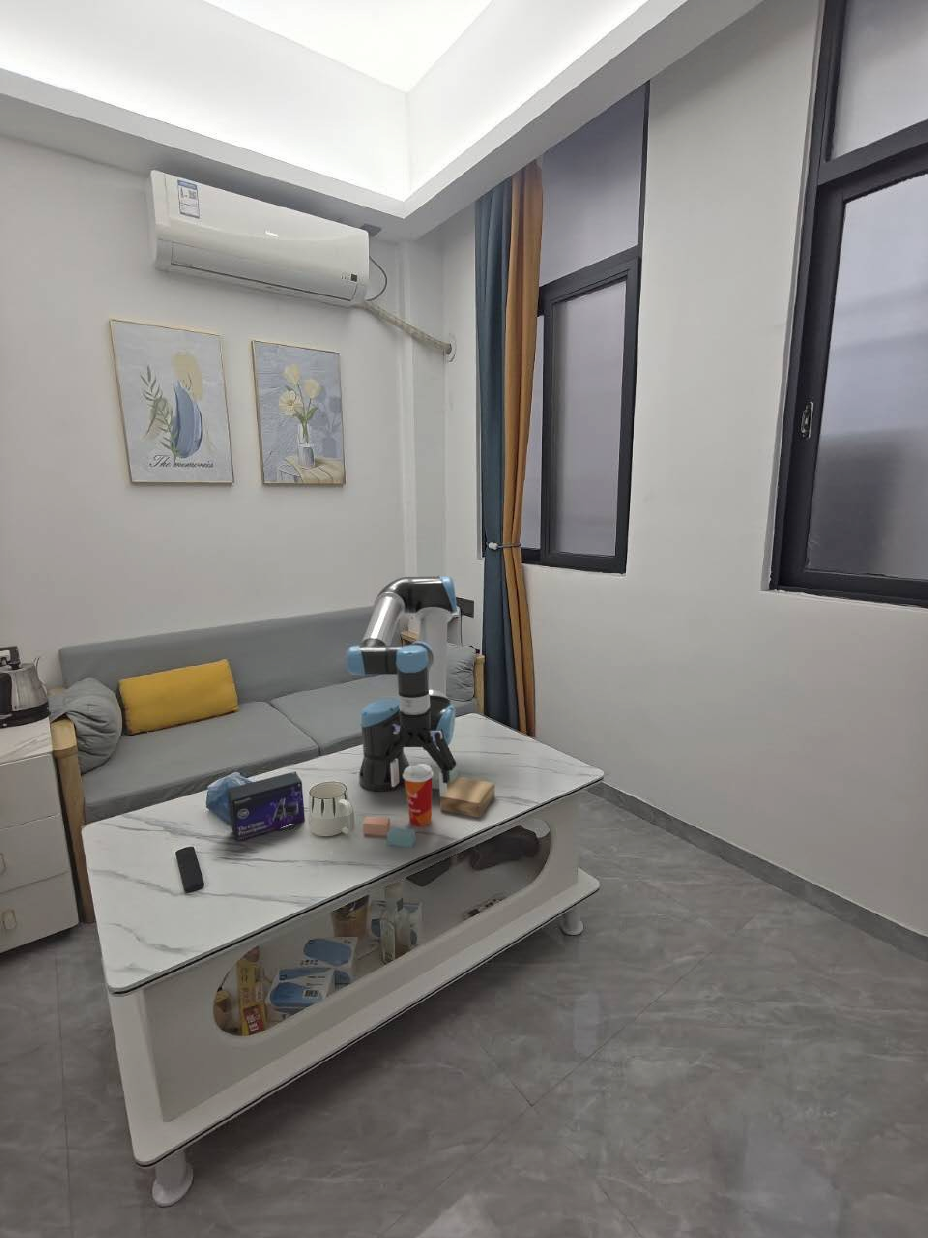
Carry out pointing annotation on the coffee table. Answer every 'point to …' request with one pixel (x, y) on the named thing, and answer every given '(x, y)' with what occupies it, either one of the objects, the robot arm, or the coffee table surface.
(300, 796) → the box
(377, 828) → the brick
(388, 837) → the brick
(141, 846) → the coffee table surface
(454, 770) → the sage pad
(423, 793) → the paper cup
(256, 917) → the coffee table surface
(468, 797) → the oak block
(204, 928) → the coffee table surface
